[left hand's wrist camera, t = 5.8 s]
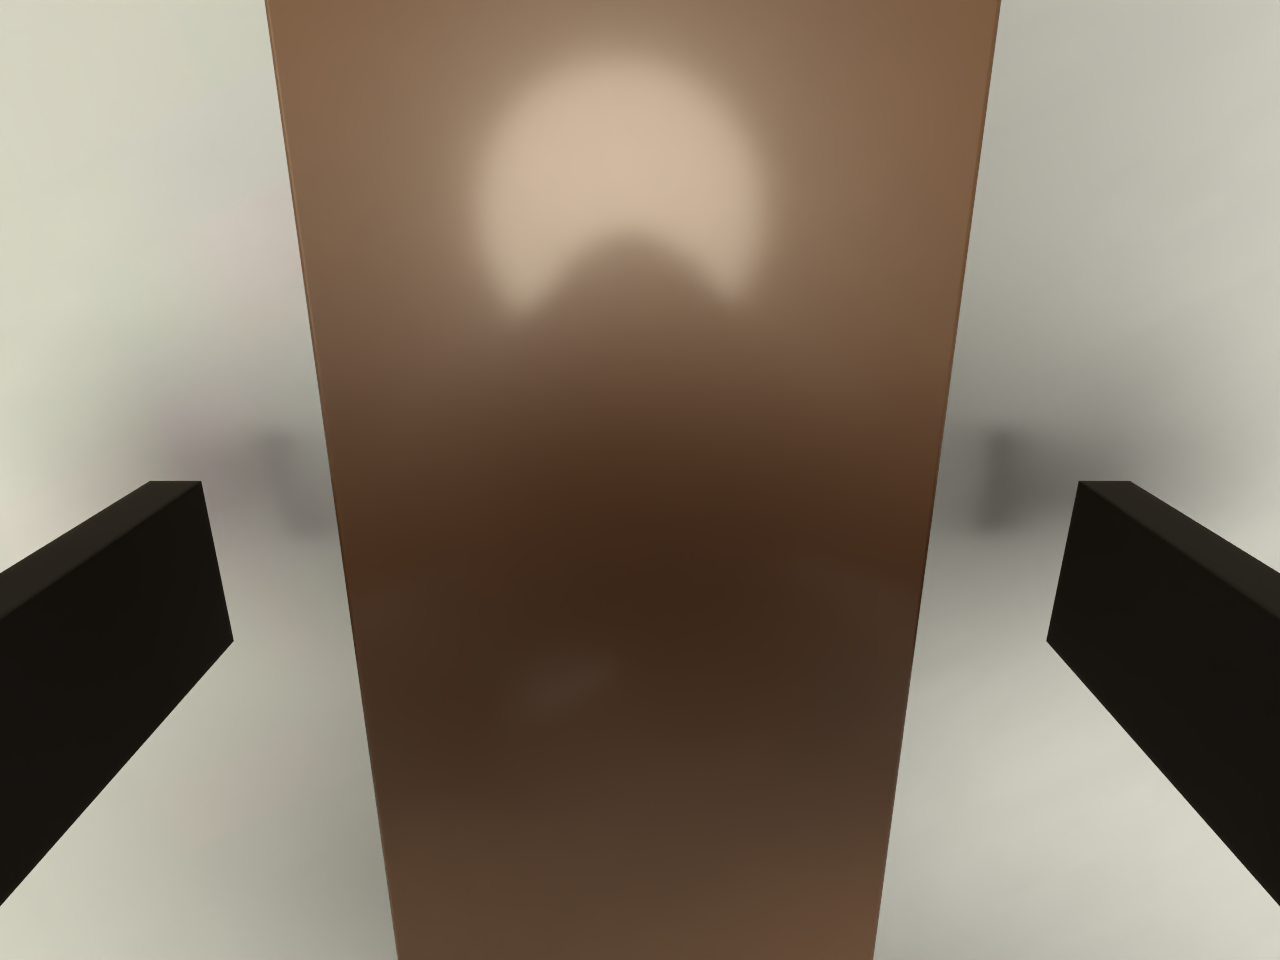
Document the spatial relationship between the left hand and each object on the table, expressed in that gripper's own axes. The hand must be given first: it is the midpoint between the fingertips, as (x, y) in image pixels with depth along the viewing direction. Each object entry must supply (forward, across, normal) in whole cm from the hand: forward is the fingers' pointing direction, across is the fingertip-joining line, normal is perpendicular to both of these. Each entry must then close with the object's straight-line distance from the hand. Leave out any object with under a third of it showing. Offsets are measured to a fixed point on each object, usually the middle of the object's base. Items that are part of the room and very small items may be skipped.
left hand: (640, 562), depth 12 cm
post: (+4, 0, -21) cm, 21 cm away
